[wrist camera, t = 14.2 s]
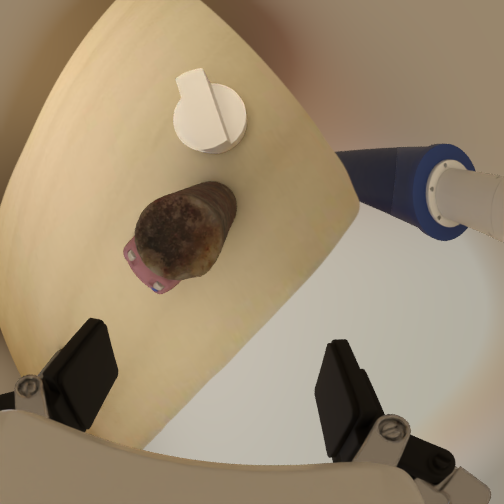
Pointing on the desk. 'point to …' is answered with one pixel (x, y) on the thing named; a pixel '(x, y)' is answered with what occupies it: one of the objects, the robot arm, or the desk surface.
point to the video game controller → (146, 270)
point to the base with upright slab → (208, 114)
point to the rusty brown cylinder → (185, 230)
